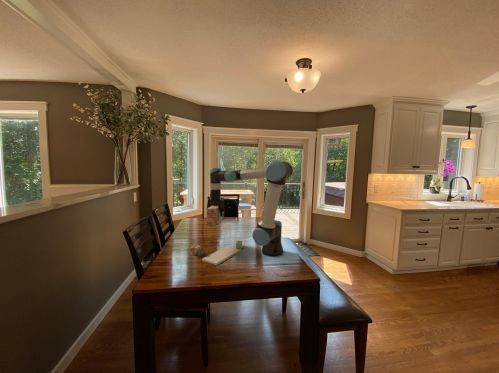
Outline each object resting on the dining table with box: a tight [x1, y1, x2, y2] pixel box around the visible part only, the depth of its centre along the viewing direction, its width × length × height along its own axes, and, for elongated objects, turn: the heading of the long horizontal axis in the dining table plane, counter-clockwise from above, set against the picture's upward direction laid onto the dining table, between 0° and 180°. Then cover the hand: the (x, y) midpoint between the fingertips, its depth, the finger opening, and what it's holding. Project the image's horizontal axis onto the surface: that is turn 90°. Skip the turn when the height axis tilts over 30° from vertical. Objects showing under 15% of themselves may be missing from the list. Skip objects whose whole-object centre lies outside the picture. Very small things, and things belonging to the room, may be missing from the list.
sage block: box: [235, 240, 243, 250], centre depth 169 cm, size 4×7×4 cm, turn 179°
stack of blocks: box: [206, 205, 225, 227], centre depth 167 cm, size 21×6×12 cm, turn 170°
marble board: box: [201, 246, 241, 266], centre depth 154 cm, size 12×26×1 cm, turn 149°
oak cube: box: [189, 244, 201, 256], centre depth 157 cm, size 5×5×5 cm
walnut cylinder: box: [198, 245, 206, 259], centre depth 152 cm, size 4×4×6 cm
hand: (215, 219), depth 167 cm, fingers closed on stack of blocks, 8 cm apart
